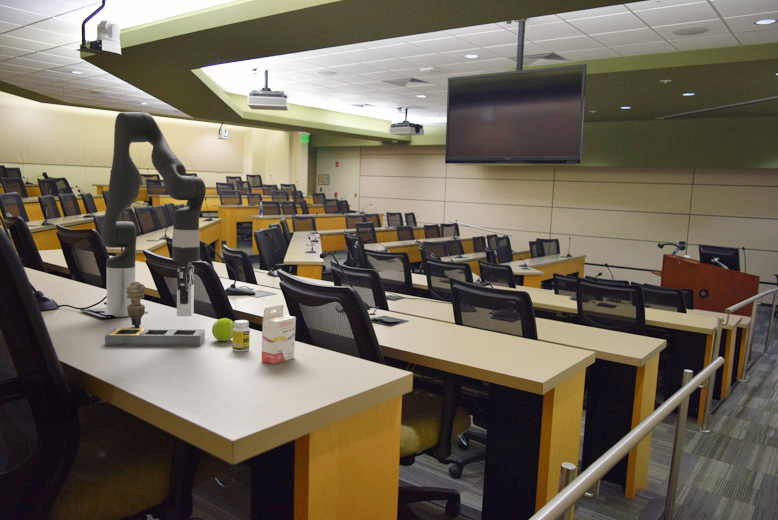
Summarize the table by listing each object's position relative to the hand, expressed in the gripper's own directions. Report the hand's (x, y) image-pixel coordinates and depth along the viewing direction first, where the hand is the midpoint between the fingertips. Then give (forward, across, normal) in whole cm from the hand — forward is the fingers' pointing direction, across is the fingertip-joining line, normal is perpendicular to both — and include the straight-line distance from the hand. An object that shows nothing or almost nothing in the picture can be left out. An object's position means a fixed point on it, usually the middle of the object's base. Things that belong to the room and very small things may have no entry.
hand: (185, 302), depth 165 cm
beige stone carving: (+13, -19, -19) cm, 29 cm away
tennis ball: (+12, -2, +11) cm, 17 cm away
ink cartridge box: (+12, +18, +28) cm, 36 cm away
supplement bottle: (+12, +8, +17) cm, 23 cm away
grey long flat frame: (+12, 0, -8) cm, 15 cm away
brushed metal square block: (+4, 0, 0) cm, 4 cm away
